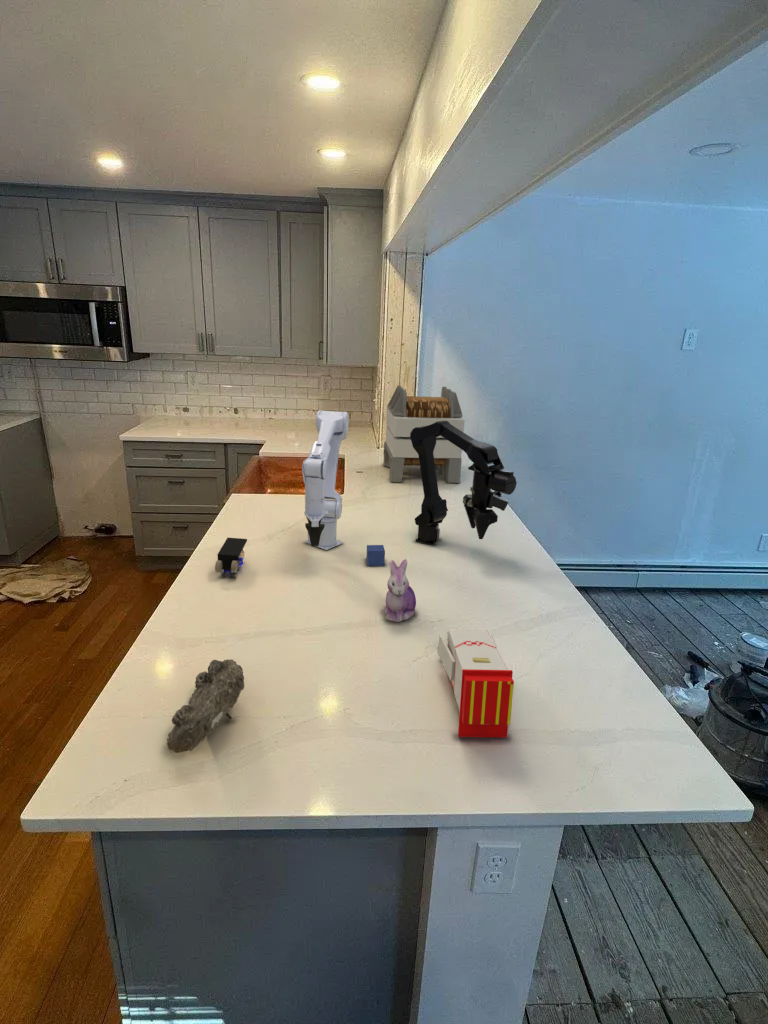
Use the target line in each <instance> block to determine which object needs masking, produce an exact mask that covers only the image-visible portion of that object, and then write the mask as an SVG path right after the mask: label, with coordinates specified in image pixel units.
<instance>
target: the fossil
mask: <svg viewBox="0 0 768 1024" xmlns="http://www.w3.org/2000/svg"><path fill="white" fill-rule="evenodd" d="M243 670H244V669H243V667H242V665H240V664H237V662H236V661H235V660H234V659H232V658H231V659H227V658H226V659H224V660H223V661H222V660H217V659H212V660H211V661H210V663H209V665H208V666H207V671H201V672H199V673H198V674H197V675H196V676H195V680H194V684H195V685H194V687H195V689H194V690H193V693H192V694H191V697H190V698H189V700H188V704H184V705H182V706H181V707H180V709H177V710H176V711H175V713H174V715H173V716H172V718H171V723H172V724H173V727H172V730H171V731H170V732H168V734H167V738H166V741H167V742H166V745H167V749H168V750H169V751H173V752H174V753H176V754H178V753H182V752H188V751H189V752H192V751H193V750H195V748H196V747H197V746H199V744H200V743H201V742H203V741H204V740H205V739H206V738H207V737H208V736H209V735H210V734H211V733H212V732H214V730H215V729H217V727H218V726H219V724H220V722H221V721H222V720H223V719H224V718H225V716H226V717H227V719H229V720H233V717H232V715H230V714H229V710H230V709H231V708H234V706H235V704H236V703H237V702H238V699H239V697H240V695H241V693H242V691H243V690H245V689H244V688H245V675H244V671H243Z"/></svg>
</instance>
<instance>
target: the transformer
mask: <svg viewBox="0 0 768 1024" xmlns="http://www.w3.org/2000/svg"><path fill="white" fill-rule="evenodd" d="M440 393H441V394H440V396H415V395H414V396H413V395H412V396H411V395H407V394H408V393H407V390H406V389H404V388H403V387H402V385H399V384H398V385H397V386H396V388H395V390H394V392H393V394H392V395H391V398H390V400H389V402H388V404H387V405H386V413H385V414H386V415H385V423H386V428H385V438H384V442H383V466H384V467H388V468H389V475H388V476H389V477H388V478H389V480H390V482H391V483H402V482H403V475H404V469H405V466H406V467H407V466H411V467H412V466H413V467H415V466H416V467H417V466H418V467H420V462H419V456H418V453H417V452H416V451H415V449H414V448H413V445H412V442H411V438H410V433H411V431H412V430H413V429H414V428H416V427H422V426H428V425H431V424H433V423H435V422H438V421H444V420H446V421H448V422H449V423H450V424H451V425H453V426H454V427H456V428H457V429H459V430H460V431H462V432H464V431H465V430H464V429H465V419H464V418H463V411H462V408H461V405H460V402H459V398H458V395H457V392H455V391H453V390H452V389H451V388H447V386H442V387H441V392H440ZM464 433H465V432H464ZM462 453H463V450H462V449H460V448H459V447H457V446H456V445H454V444H453V443H451V442H450V441H448V440H447V439H445V438H444V437H442V436H438V437H436V445H435V448H434V451H433V455H434V462H435V467H436V468H437V470H438V469H439V473H440V474H441V475H443V478H444V479H445V481H446V482H447V483H449V484H455V483H456V484H459V483H461V472H462V461H463V460H462Z"/></svg>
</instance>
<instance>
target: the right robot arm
mask: <svg viewBox="0 0 768 1024" xmlns="http://www.w3.org/2000/svg"><path fill="white" fill-rule="evenodd" d="M438 436H442V437H444V438H445V439H447V440H448V441H450V442H451V443H453V444H454V445H456V446H457V447H459V448H460V449H462V452H464V453H465V454H466V455H467V458H468V460H470V461H471V462H472V464H471V465H469V466H468V467H467V470H468V471H472V472H473V478H472V486H471V487H469V490H470V492H471V494H465V495H464V496H463V497H462V504H463V507H464V511H465V514H466V516H467V519H468V522H469V525H470V528H471V529H476V533H477V536H478V539H479V540H483V539H484V536H485V535H486V532H487V530H488V528H489V526H491V525H492V524H495V523H498V519H499V516H498V514H497V513H496V512H495V510H493V508H496V509H499V510H500V511H502V512H504V511H505V510H506V509H507V506H508V504H509V500H507V498H506V497H504V496H502V494H505V495H507V496H508V495H512V494H513V493H514V492H515V490H516V488H517V483H518V482H517V479H516V476H515V475H514V474H515V472H514V471H512V470H506V469H505V466H504V464H503V462H502V460H501V457H500V455H499V453H498V449H497V446H495V445H492V444H491V443H487V442H486V441H480V440H477V439H475V438H473V437H472V436H470V435H468V434H467V433H465V432H462V431H460V430H459V429H457V428H456V427H454V426H453V425H451V424H450V423H449V422H448V421H446V420H444V421H438V422H435V423H433V424H431V425H428V426H422V427H416V428H414V429H413V430H412V431H411V433H410V438H411V442H412V445H413V448H414V449H415V451H416V452H417V453H418V456H419V462H420V466H419V468H420V469H419V470H420V475H421V482H422V491H423V499H422V501H421V502H422V503H421V506H420V510H421V511H420V512H421V513H420V514H418V515H417V516H416V517H414V523H415V525H416V526H418V527H417V538H416V539H415V542H417V543H421V544H425V545H430V546H435V544H436V543H437V542H438V541H439V540H440V532H441V528H439V526H440V524H442V523H443V521H444V520H445V518H446V517H447V515H448V511H449V509H448V506H447V503H448V502H447V499H446V498H444V499H443V497H442V496H441V495H440V491H439V484H438V478H437V477H438V476H437V469H436V466H435V462H434V455H433V451H434V448H435V445H436V437H438Z"/></svg>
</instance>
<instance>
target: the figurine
mask: <svg viewBox="0 0 768 1024" xmlns="http://www.w3.org/2000/svg"><path fill="white" fill-rule="evenodd" d="M407 567H408V559H406V558H404V559H403V560H402V561H401V563H400V565H399V566H398V565H397V563H396V562H395V561H394V560H393V559H391V560H390V561H389V570H390V576H389V578H388V579H387V589H388V591H387V592H386V594H385V595H386V596H385V607H384V615H385V616H386V620H387V621H391V622H395V623H400V622H402V621H406V620H409V619H410V618H411V617H413V616H414V615H415V610H416V606H417V597H416V593H415V591H414V590H413V587H411V586H410V582H409V579H408V577H407V574H406V571H407Z"/></svg>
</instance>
